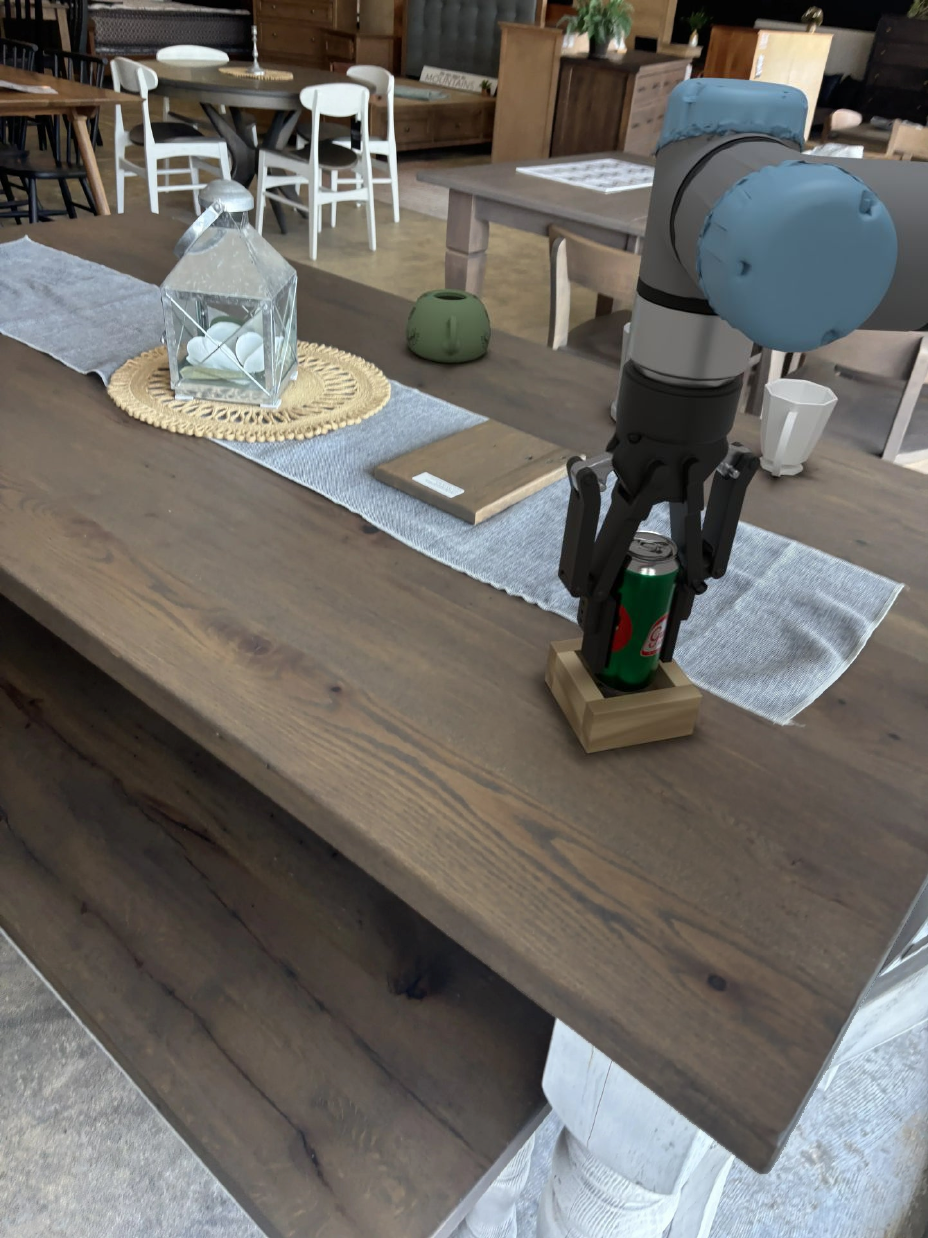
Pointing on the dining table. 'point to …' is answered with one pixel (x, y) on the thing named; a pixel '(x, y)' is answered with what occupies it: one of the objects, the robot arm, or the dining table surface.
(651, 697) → the holder
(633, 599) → the soda can
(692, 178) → the robot arm
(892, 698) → the dining table surface
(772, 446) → the cup
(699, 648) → the dining table surface
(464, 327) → the mug
